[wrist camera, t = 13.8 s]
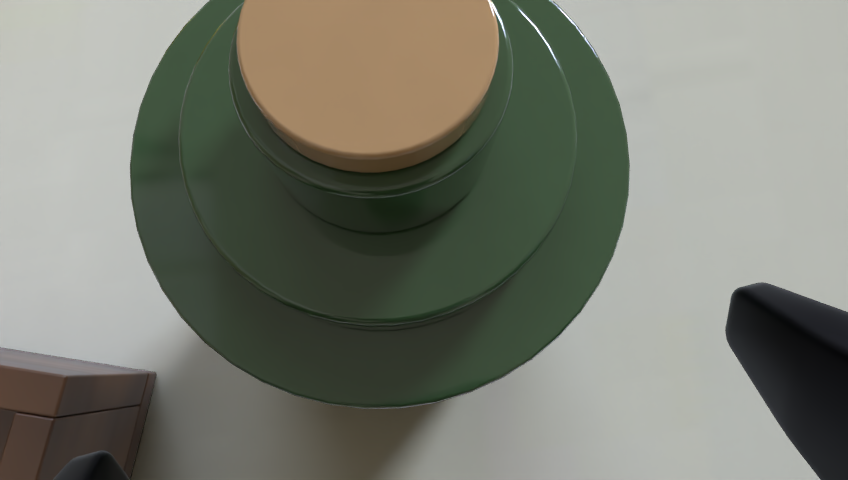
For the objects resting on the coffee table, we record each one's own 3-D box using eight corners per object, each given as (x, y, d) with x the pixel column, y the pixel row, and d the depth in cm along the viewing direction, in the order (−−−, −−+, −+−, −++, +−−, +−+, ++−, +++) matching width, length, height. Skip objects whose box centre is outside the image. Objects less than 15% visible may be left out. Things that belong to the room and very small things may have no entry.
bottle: (431, 432, 15) (497, 631, 4) (232, 297, 15) (-207, 134, 4) (555, 231, 16) (871, -56, 5) (366, 114, 16) (282, -369, 6)
